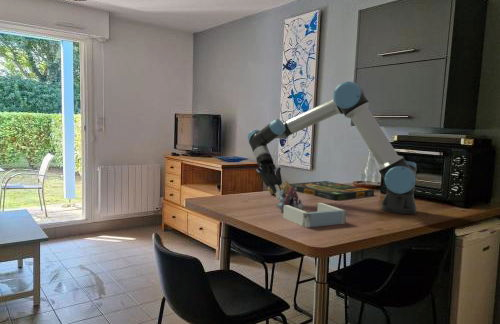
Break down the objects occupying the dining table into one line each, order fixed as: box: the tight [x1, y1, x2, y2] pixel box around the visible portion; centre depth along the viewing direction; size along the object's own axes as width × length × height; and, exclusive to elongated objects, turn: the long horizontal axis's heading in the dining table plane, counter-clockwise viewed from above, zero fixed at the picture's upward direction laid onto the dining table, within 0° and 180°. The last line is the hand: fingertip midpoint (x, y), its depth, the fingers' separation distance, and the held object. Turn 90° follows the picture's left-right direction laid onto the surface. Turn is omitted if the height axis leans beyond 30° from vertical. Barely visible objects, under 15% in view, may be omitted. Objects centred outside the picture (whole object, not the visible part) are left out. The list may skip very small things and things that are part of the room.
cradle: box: [282, 202, 347, 228], centre depth 147 cm, size 15×19×5 cm
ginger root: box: [267, 180, 291, 195], centre depth 201 cm, size 16×16×8 cm
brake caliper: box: [275, 186, 303, 213], centre depth 162 cm, size 11×11×12 cm
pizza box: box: [289, 180, 375, 201], centre depth 216 cm, size 35×35×4 cm
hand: (280, 198), depth 169 cm, fingers closed
